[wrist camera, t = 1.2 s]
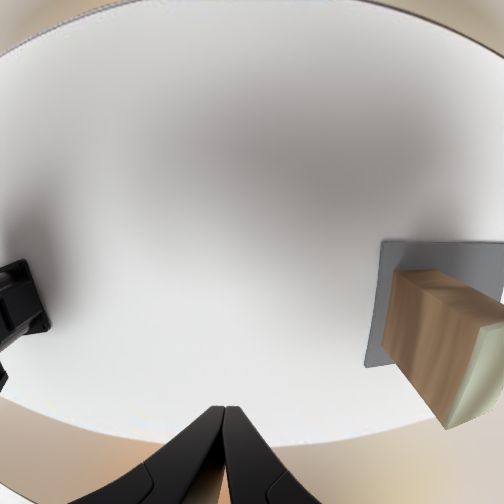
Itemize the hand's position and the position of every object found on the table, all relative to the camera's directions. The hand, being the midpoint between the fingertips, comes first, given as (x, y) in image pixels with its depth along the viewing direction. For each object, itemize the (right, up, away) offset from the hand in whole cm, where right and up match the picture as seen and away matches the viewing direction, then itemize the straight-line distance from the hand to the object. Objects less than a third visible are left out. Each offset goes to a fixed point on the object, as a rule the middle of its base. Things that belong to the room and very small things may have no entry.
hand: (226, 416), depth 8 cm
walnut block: (+13, +1, +12) cm, 17 cm away
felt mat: (+17, +1, +12) cm, 21 cm away
